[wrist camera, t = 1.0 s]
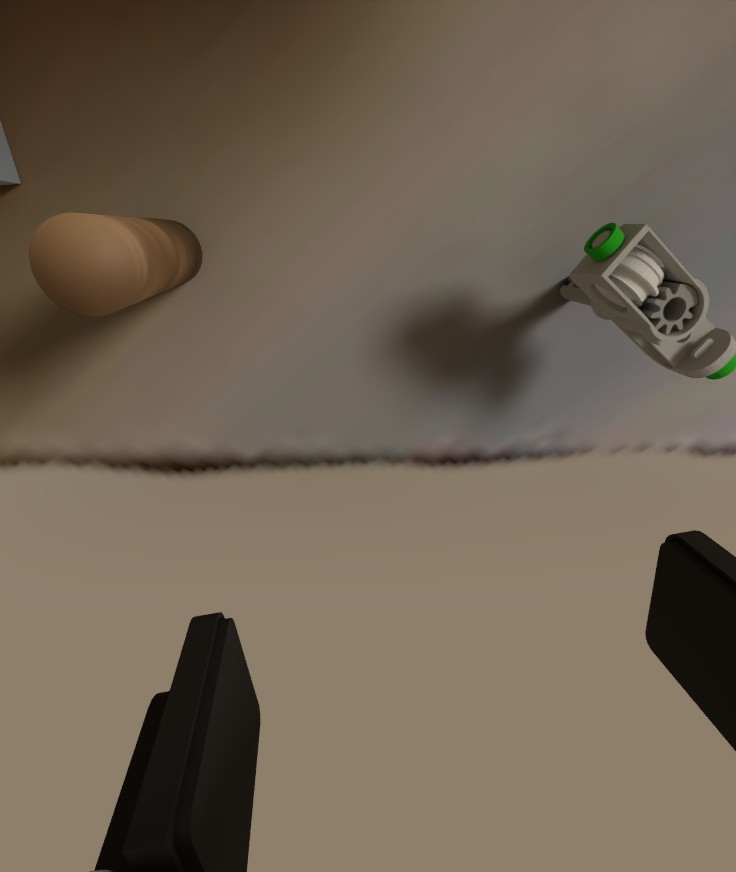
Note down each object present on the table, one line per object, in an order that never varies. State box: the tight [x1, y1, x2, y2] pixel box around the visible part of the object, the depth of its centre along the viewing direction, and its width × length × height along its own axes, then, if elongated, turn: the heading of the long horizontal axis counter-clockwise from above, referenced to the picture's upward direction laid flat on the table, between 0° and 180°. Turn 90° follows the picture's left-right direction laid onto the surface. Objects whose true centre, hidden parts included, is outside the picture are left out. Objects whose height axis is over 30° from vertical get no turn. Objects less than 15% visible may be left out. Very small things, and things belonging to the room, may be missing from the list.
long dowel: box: [29, 213, 202, 317], centre depth 22 cm, size 4×4×12 cm
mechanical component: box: [560, 223, 736, 379], centre depth 27 cm, size 3×10×10 cm, turn 52°
